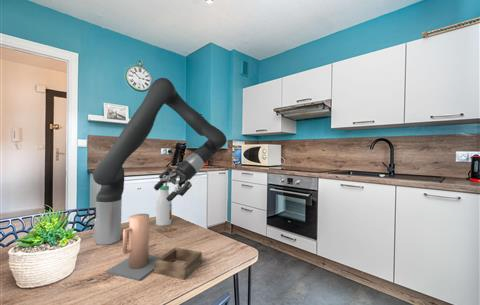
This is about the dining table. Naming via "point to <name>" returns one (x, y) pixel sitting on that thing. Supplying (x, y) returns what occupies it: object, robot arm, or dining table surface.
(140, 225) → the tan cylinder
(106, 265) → the dining table surface
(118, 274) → the charcoal mat
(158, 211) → the milk bottle
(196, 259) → the walnut collar
